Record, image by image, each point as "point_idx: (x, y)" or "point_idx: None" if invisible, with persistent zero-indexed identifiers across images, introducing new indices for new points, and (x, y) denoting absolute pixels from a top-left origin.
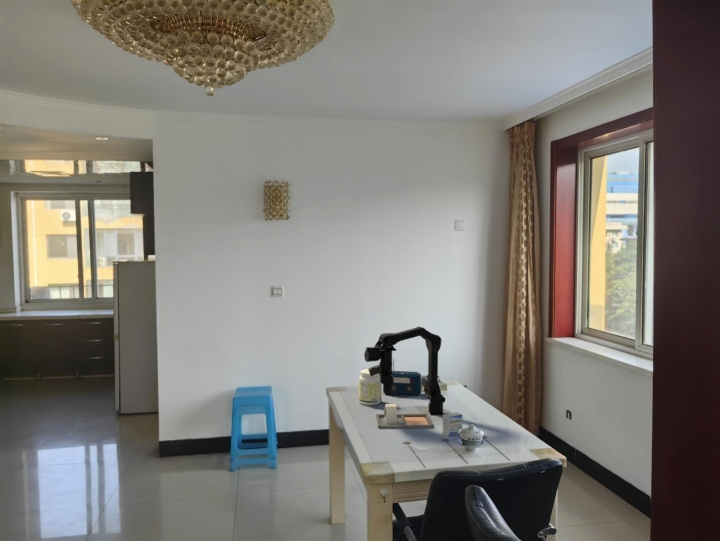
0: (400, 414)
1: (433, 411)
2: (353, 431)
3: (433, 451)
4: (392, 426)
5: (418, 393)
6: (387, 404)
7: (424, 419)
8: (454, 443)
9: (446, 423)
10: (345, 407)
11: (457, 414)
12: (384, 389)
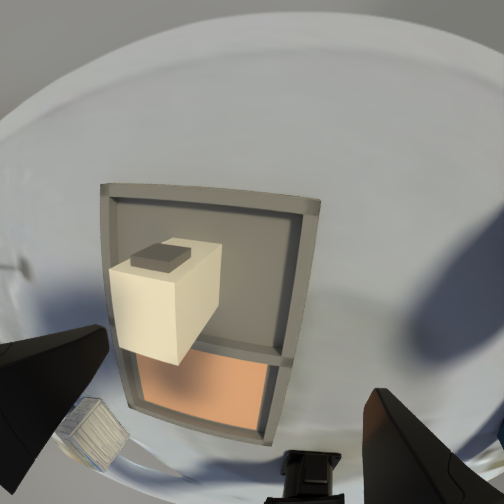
0: (283, 355)
1: (294, 465)
2: (105, 66)
3: (8, 312)
4: (103, 257)
5: (501, 432)
6: (166, 299)
7: (223, 419)
8: None
9: (69, 418)
10: (497, 77)
11: (83, 460)
12: (22, 340)
